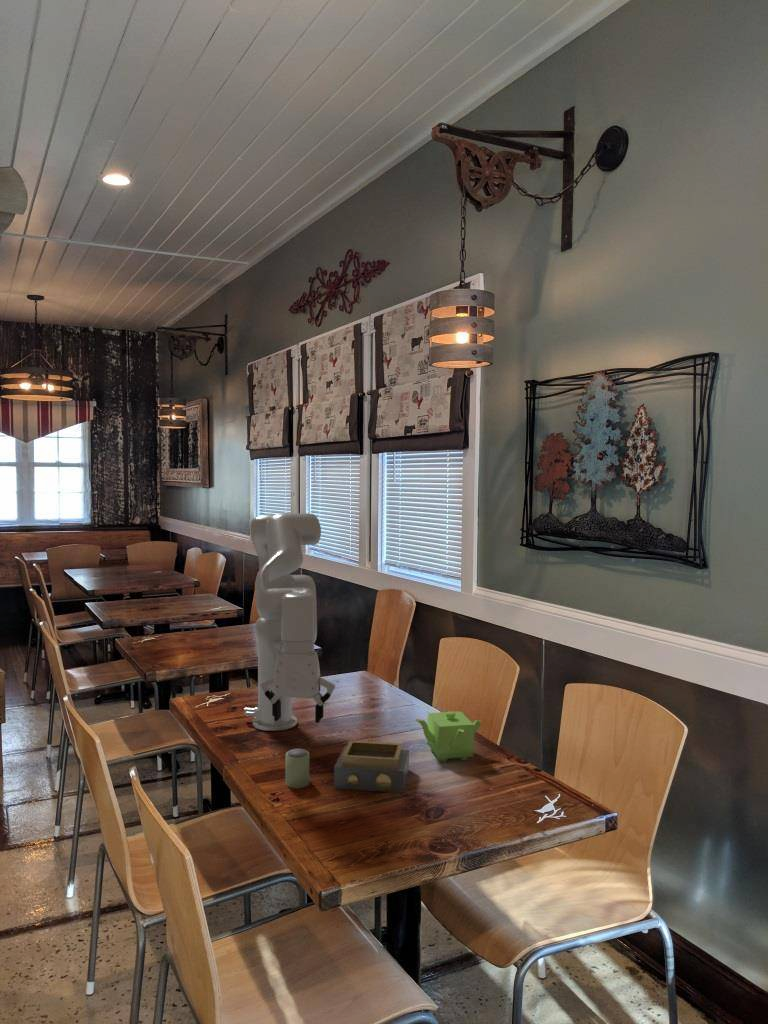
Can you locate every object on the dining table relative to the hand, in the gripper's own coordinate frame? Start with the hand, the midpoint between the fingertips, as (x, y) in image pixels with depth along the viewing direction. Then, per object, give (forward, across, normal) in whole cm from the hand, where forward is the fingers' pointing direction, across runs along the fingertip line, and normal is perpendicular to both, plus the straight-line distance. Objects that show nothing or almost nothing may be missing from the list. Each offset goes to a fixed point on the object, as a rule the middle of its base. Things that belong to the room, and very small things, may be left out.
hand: (297, 720), depth 174 cm
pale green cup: (+15, 0, +1) cm, 15 cm away
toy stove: (+15, +17, +6) cm, 23 cm away
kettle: (+15, +34, +23) cm, 43 cm away
